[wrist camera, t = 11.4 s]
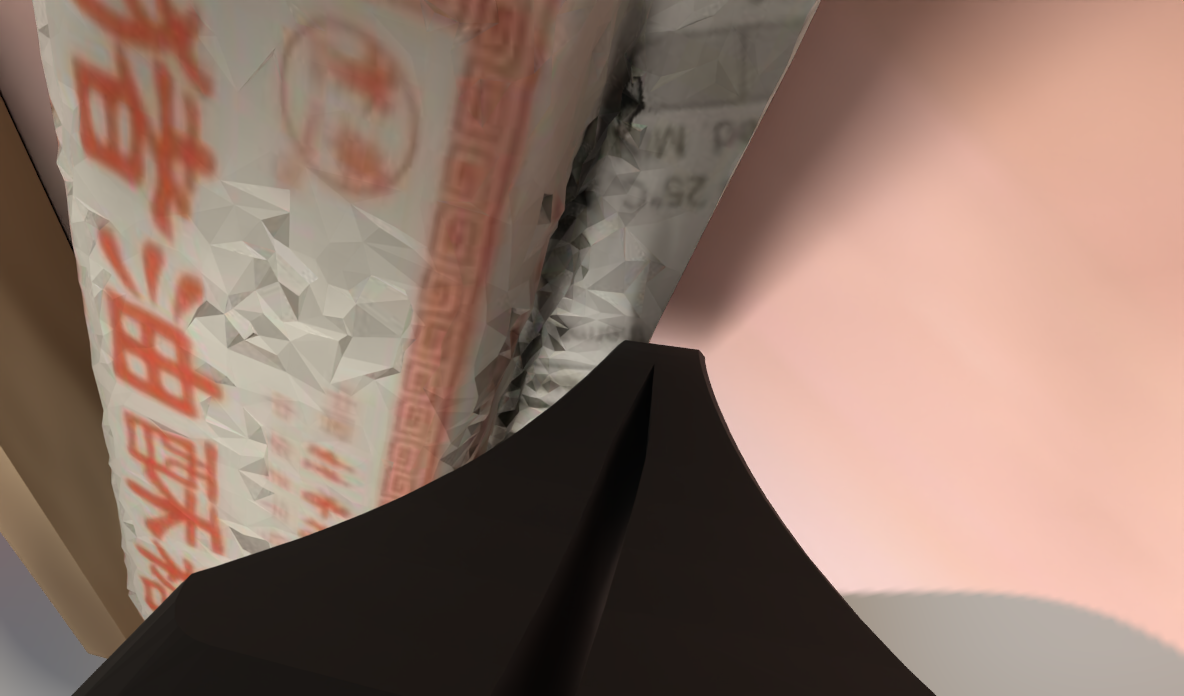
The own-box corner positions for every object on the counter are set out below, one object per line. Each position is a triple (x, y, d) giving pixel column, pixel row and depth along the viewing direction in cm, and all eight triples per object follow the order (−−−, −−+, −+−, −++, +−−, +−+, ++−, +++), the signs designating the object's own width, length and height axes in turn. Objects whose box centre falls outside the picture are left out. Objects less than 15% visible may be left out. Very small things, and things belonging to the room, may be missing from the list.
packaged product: (439, 806, 13) (44, 629, 13) (512, 618, 17) (209, 484, 17) (1007, -231, 3) (-516, -870, 4) (866, -103, 7) (163, -402, 8)
